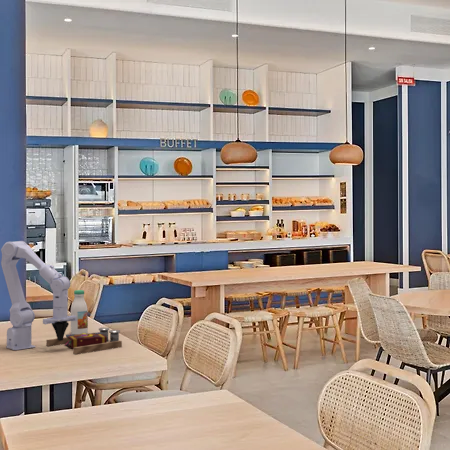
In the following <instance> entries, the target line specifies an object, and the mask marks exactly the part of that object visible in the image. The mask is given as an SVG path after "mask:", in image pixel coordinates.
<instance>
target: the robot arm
mask: <svg viewBox="0 0 450 450" xmlns="http://www.w3.org/2000/svg"><path fill="white" fill-rule="evenodd" d="M0 252H1V260H0V265H1V269H2V273H3V276H4V279H5V280H4V281H5V283H6V286H7V290H8V294H9V298H10V301H11V307H10V308H9V322H10V324H11V325H12V326H11V327H9V328H7V329H6V346H5V347H6V349H10V350H12V351H19V350H27V349H33V348H36V345H33V344H32V337H33V336H32V334H33V333H32V325H33V322H34V321H35V318H36V314H35V312H34V311H33V309H32V307H31V305H30V303H29V302H27V301H26V298H25V294H24V289H23V287H22V283H21V279H20V277H19V271H18V268H17V264H18V262H19V261H20V260H21V259H25V260H26V261H28V263H30V264H31V265H32V266H34V267H35V268H36V269H37V270H38V273H39V275H40V277H42V279H44V280H45V281H46V283H48V284H49V285H50V290H51V291H52V296H53V297H52V301H53V302H52V317H48V318H43V319H42V325H49V324H51V326H52V327H53V330H54V332H55V335H56V339H57V340H59V341H61V340H63V338H64V335H65V333H66V331H67V328H68V327H69V325H70V323H69V322H71V321H77V316H71V315H68V311H69V310H68V306H69V305H68V297H69V295H68V293H69V292H68V291H69V290H68V289H70V287H71V281H70V279H69V278H68V277H67V276H63V274H62V273H59V272H58V271H57V270H56V269H55V266H54V265H53V264H49V263H48V264H47V263H45V262H44V261H43V260H42V259H41V258H40V257H39V256H38V255H37V254H36V252H34V251H33V250H32V248H31V246H30V245H28V244H27V243H26V242H25V241H24V240H18V241H6V242H5V243H4V244H3V245H2V247H1V248H0Z"/></svg>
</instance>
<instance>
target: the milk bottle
mask: <svg viewBox="0 0 450 450" xmlns="http://www.w3.org/2000/svg"><path fill="white" fill-rule="evenodd" d="M73 291H74V292H73V293H74V294H73V295H74V299H73V301H72V303H71V307H70V316H77V321H70V334H75V335H76V334H82V333H86V334H89V332H88V330H89V328H88V327H89V325H88V324H89V320H88V319H89V317H88V316H89V313H88V310H89V309H88V305H87V303H86V300H85V290H83V289H77V290H76V289H75V290H73Z"/></svg>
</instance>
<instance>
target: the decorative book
mask: <svg viewBox="0 0 450 450" xmlns="http://www.w3.org/2000/svg"><path fill="white" fill-rule="evenodd" d="M65 337H67V338H68V342H67V343H66V344H64V346H67V347H69V348H70V349H72V350H73V348H74V347H81V346H87V345H94V344H100V343H107V337H106V336H105V335H103V333H101V332H100V331H99V332H98V331H97V332H92V333H87V334H86V333H82V334H76V335H75V334H71V333H70V334H65Z"/></svg>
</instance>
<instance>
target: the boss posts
mask: <svg viewBox="0 0 450 450" xmlns="http://www.w3.org/2000/svg"><path fill="white" fill-rule="evenodd" d="M98 331H99V332H101V333H103V335H105V336H106V337H107V342H113V341H120V332H121V330H119V329H110V327H106V326H105V327H99V328H98ZM109 333H110V334H109ZM109 335H110V336H109Z"/></svg>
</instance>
